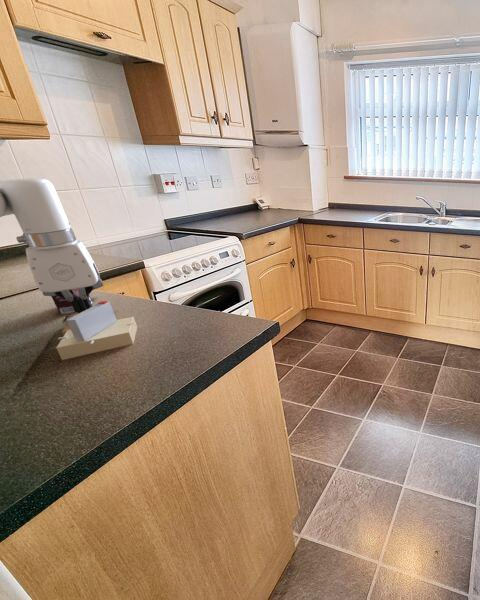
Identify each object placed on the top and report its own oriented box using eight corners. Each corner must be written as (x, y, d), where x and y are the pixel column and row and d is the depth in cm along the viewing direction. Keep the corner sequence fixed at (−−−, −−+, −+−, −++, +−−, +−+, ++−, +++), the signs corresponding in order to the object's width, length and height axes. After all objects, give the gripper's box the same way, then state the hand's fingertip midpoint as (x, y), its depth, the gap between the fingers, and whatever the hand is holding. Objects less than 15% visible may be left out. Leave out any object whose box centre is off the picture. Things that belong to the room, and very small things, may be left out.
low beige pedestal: (55, 366, 67) (48, 352, 66) (72, 337, 78) (66, 325, 76) (135, 347, 73) (130, 334, 72) (141, 323, 84) (137, 312, 82)
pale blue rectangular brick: (84, 341, 70) (74, 318, 68) (76, 341, 70) (65, 319, 68) (117, 321, 78) (109, 300, 76) (109, 321, 78) (101, 300, 76)
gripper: (-4, 247, 67) (38, 328, 75) (92, 237, 74) (122, 311, 81) (11, 240, 73) (49, 315, 80) (98, 230, 80) (126, 301, 87)
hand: (85, 313), depth 81 cm, fingers closed
